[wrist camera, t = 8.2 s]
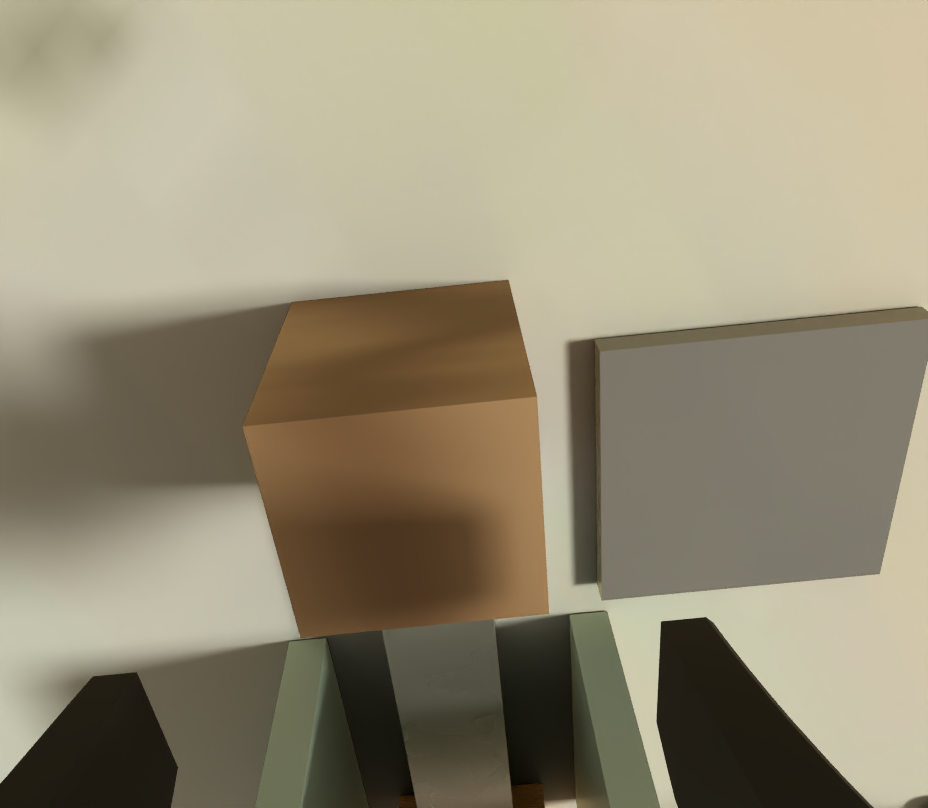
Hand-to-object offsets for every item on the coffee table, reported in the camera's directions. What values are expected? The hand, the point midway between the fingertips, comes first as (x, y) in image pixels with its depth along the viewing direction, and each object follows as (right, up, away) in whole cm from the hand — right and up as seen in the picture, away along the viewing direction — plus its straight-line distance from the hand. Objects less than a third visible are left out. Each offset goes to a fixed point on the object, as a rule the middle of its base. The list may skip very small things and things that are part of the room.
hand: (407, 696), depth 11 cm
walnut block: (0, +5, +6) cm, 8 cm away
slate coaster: (+7, +3, +8) cm, 11 cm away
